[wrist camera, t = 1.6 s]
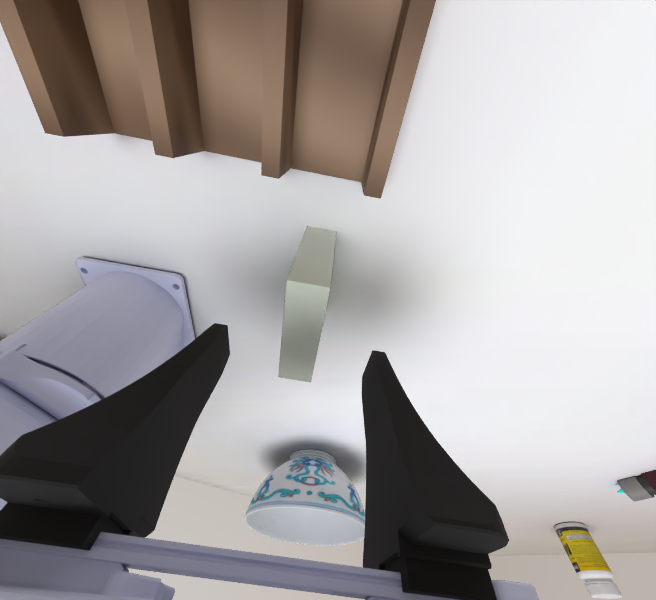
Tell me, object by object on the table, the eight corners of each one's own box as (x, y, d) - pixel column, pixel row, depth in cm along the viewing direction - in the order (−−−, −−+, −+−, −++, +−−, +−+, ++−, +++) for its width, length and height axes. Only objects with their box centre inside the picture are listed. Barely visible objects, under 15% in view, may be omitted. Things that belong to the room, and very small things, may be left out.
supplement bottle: (551, 523, 46) (586, 594, 39) (582, 520, 44) (625, 594, 37) (556, 530, 48) (590, 599, 41) (586, 528, 46) (627, 599, 39)
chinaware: (385, 454, 35) (393, 527, 29) (335, 488, 43) (332, 551, 37) (282, 421, 32) (266, 496, 26) (249, 465, 40) (231, 529, 34)
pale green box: (320, 311, 21) (310, 382, 16) (297, 307, 21) (278, 377, 16) (336, 231, 17) (330, 288, 12) (307, 226, 17) (286, 280, 11)
